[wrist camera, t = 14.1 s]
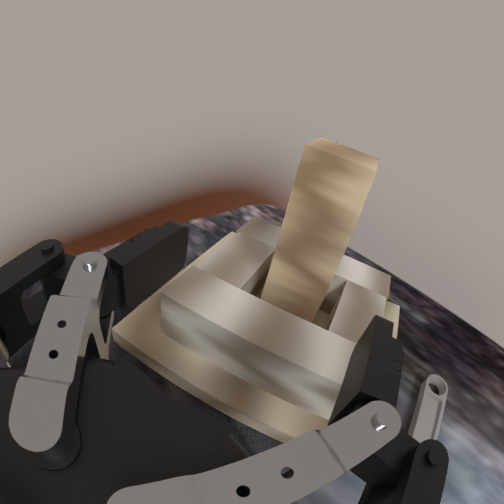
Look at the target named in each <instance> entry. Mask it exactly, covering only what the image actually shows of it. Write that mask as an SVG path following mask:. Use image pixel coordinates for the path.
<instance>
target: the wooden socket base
mask: <svg viewBox="0 0 504 504" xmlns="http://www.w3.org/2000/svg"><path fill="white" fill-rule="evenodd" d="M280 231H281V227H278V226H276V225H274V224H271V223H269V222H266V221H264V220H262V219H259V218H257V217H253V218H252V219H250V220H249V221H248V222H247V223H245V224H244V225H243V226H242V227H240V228H239V229H238V230H237V231H236V233H234V232H232V231H231V232H230V233H229V234H228V235H226V236H225V237H224V238H222V239H221V240H220V241H219V242H217V243H216V244H215V245H214V246H212V247H211V248H210V249H209V250H207V251H206V252H205V253H203V254H202V255H201V256H200V257H198V258H197V259H196V260H195V261H193V262H192V263H191V264H190V265H188V266H187V267H186V268H185V269H183V270H182V271H181V272H180V273H178V274H177V275H176V276H175V277H174V278H172V279H171V280H170V281H169V282H167V283H166V284H165V285H164V286H162V287H161V288H160V289H159V290H158V291H156V292H155V293H154V294H153V295H151V296H150V297H149V298H148V299H147V300H145V301H144V302H143V303H142V304H140V305H139V306H138V307H137V308H136V309H134V310H133V311H132V312H131V313H130V314H128V315H127V316H126V317H125V318H124V319H122V320H121V321H120V322H119V323H118V324H116V325H115V326H114V327H113V328H112V335H113V340H114V342H115V343H117V344H118V345H119V346H120V347H122V348H123V349H124V350H126V351H127V352H129V353H130V354H131V355H133V356H134V357H135V358H137V359H138V360H140V361H141V362H142V363H144V364H145V365H147V366H148V367H150V368H151V369H152V370H154V371H155V372H157V373H158V374H160V375H161V376H163V377H164V378H166V379H167V380H169V381H171V382H172V383H174V384H175V385H177V386H178V387H180V388H182V389H183V390H185V391H186V392H188V393H190V394H191V395H193V396H195V397H196V398H198V399H200V400H201V401H203V402H205V403H206V404H208V405H210V406H212V407H213V408H215V409H217V410H219V411H221V412H222V413H224V414H226V415H228V416H230V417H232V418H233V419H235V420H237V421H239V422H241V423H243V424H245V425H247V426H249V427H251V428H253V429H255V430H257V431H259V432H261V433H263V434H265V435H267V436H270V437H272V438H274V439H276V440H278V441H280V442H283V443H285V442H288V441H290V440H292V439H294V438H297V437H299V436H301V435H303V434H305V433H307V432H310V431H312V430H315V429H317V430H322V429H324V428H326V427H328V426H329V425H327V424H328V422H329V419H330V417H331V414H332V411H333V408H334V406H335V403H336V400H337V397H338V394H339V391H340V388H341V385H342V382H343V379H344V376H345V373H346V370H347V367H348V364H349V360H350V357H351V354H352V352H353V349H354V347H355V345H356V344H357V342H358V340H359V339H360V337H361V336H362V334H363V333H364V331H365V330H366V328H367V327H368V325H369V323H370V322H371V320H372V319H373V317H374V316H375V315H378V316H381V317H383V318H385V319H387V320H389V321H392V322H393V323H394V327H393V335H392V337H393V338H396V339H397V331H398V321H399V310H400V306H398V305H396V304H393V303H391V302H389V301H387V300H388V298H389V290H390V280H391V276H390V275H388V274H386V273H383V272H381V271H379V270H377V269H375V268H372V267H370V266H368V265H366V264H364V263H361V262H359V261H357V260H355V259H352V258H350V257H348V256H346V255H343V257H342V260H341V262H340V264H339V266H338V269H337V271H336V273H335V275H334V278H333V280H332V282H331V284H330V286H329V289H328V291H327V293H326V295H325V297H324V299H323V301H322V304H321V306H320V308H319V310H318V312H317V314H316V316H315V318H314V320H313V322H312V323H310V322H308V321H306V320H304V319H302V318H300V317H297V316H295V315H293V314H291V313H289V312H287V311H285V310H283V309H280V308H278V307H276V306H274V305H272V304H270V303H268V302H266V301H264V300H262V299H261V295H262V292H263V289H264V285H265V282H266V279H267V275H268V272H269V269H270V265H271V262H272V258H273V255H274V252H275V248H276V245H277V241H278V238H279V235H280Z"/></svg>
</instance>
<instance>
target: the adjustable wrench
mask: <svg viewBox="0 0 504 504" xmlns="http://www.w3.org/2000/svg"><path fill="white" fill-rule="evenodd" d="M429 384H433V385H434V386H435V387H436V388H437V390H438V392H439V395H437V394H435V393H434V392H433V391H432V390H431V389H430V387H429ZM447 393H448V387H447V384H446V382H445V380H444V379H443V378H442V377H440V376H439V375H436V374H432V375H430V376H429V377H428V378H427V379H426V380H425V381H424V382H423V383H422V384H421V387H420V391H419V395H418V399H417V402H416V406H415V410H414V413H413V417H412V420H411V424H410V427H409V430H408V433H407V434H409V435H410V436H411V437H413V438H414V439H415V440H417V441H418V442H419V443H421V442H423V441H424V440H427V439H434V440H437V438H438V434H439V430H440V426H441V422H442V417H443V413H444V408H445V403H446V398H447Z"/></svg>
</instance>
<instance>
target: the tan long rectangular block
mask: <svg viewBox="0 0 504 504" xmlns="http://www.w3.org/2000/svg"><path fill="white" fill-rule="evenodd" d="M378 160H379V159H377V158H374V157H372V156H370V155H367V154H365V153H362V152H359V151H357V150H354V149H351V148H348V147H346V146H343V145H341V144H338V143H335V142H332V141H329V140H327V139H323V138H319V139H316V140H314V141H312V142H310V143H307V144H305V146H304V149H303V153H302V157H301V160H300V164H299V168H298V171H297V175H296V178H295V182H294V185H293V189H292V193H291V196H290V200H289V203H288V207H287V210H286V214H285V217H284V221H283V224H282V228H281V231H280V235H279V238H278V241H277V245H276V248H275V252H274V255H273V258H272V262H271V265H270V269H269V272H268V275H267V279H266V282H265V285H264V289H263V292H262V295H261V299H262V300H264V301H266V302H268V303H270V304H272V305H274V306H276V307H278V308H280V309H283V310H285V311H287V312H289V313H291V314H293V315H295V316H297V317H300V318H302V319H304V320H306V321H308V322H310V323H312V322H313V320H314V318H315V316H316V314H317V312H318V310H319V308H320V306H321V304H322V301H323V299H324V297H325V295H326V293H327V291H328V289H329V286H330V284H331V282H332V280H333V278H334V275H335V273H336V271H337V269H338V266H339V264H340V262H341V260H342V257H343V255H344V253H345V250H346V248H347V246H348V243H349V241H350V238H351V236H352V234H353V231H354V229H355V226H356V224H357V221H358V219H359V216H360V214H361V211H362V209H363V206H364V204H365V201H366V198H367V196H368V193H369V190H370V188H371V185H372V182H373V180H374V177H375V174H376V171H377V165H378Z"/></svg>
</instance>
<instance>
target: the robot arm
mask: <svg viewBox="0 0 504 504" xmlns="http://www.w3.org/2000/svg"><path fill="white" fill-rule="evenodd" d="M188 234H189V231H188V228H187V227H185V226H183V225H181V224H179V223H177V222H174V221H169V222H167V223H165V224H164V225H162V226H160V227H154V228H150V229H146V230H144V231H142V232H140V233H139V234H137V235H136V236H134V237H132V238H130V239H129V240H127V241H125V242H123V243H122V244H120V245H118V246H117V247H115V248H113V249H112V250H110V251H108V252H107V253H105V254H101V253H97V252H87V253H83V254H81V255H79V256H77V257H74V256H71V255H68V254H65V253H64V249H63V244H62V243H61V242H60V241H58V240H54V239H50V240H45V241H42V242H40V243H38V244H36V245H35V246H33V247H32V248H30V249H29V250H27V251H25V252H24V253H22V254H21V255H19V256H17V257H16V258H14V259H13V260H11V261H10V262H8V263H7V264H5V265H4V266H2V267H1V268H0V504H291V503H293V502H295V501H297V500H299V499H301V498H303V497H304V496H306V495H308V494H310V493H312V492H314V491H316V490H317V489H319V488H321V487H323V486H325V485H326V484H328V483H330V482H331V481H333V480H335V479H336V478H338V477H340V476H341V475H343V474H344V473H346V472H347V471H348V470H350V471H351V472H353V473H354V474H355V475H357V476H358V477H359V478H361V479H362V480H363V481H365V482H366V486H365V488H364V491H363V493H362V496H361V498H360V500H359V503H358V504H440V501H441V497H442V493H443V488H444V484H445V479H446V474H447V469H448V462H449V457H448V453H447V450H446V448H445V447H444V445H443V444H442V443H440V442H439V441H437V440H434V439H427V440H424V441H423V442H421V443H419V442H418V441H417V440H415V439H414V438H413V437H411V436H410V435H409V434H407V433H406V432H405V431H404V430H403V429H402V428H401V418H400V415H399V413H398V412H397V410H396V404H397V398H398V392H399V385H400V378H401V375H400V374H401V371H402V362H403V353H404V352H403V349H402V346H401V342H400V340H398V339H396V338H393V337H392V335H393V327H394V323H393V322H392V321H389V320H387V319H385V318H383V317H381V316H378V315H375V316H374V317H373V319H372V320H371V322H370V323H369V325H368V327H367V328H366V330H365V331H364V333H363V334H362V336H361V337H360V339H359V340H358V342H357V344H356V345H355V347H354V349H353V352H352V354H351V357H350V360H349V364H348V367H347V370H346V373H345V376H344V379H343V382H342V385H341V388H340V391H339V394H338V397H337V400H336V403H335V406H334V408H333V411H332V414H331V417H330V419H329V422H328V424H327V425H329V426H328V427H326V428H324V429H322V430H317V429H315V430H312V431H310V432H307V433H305V434H303V435H301V436H299V437H297V438H294V439H292V440H290V441H288V442H285V443H283V444H281V445H278V446H276V447H274V448H271V449H269V450H266V451H264V452H261V453H259V454H256V455H254V456H251V457H248V456H247V454H246V452H245V451H244V449H243V448H242V446H241V445H240V444H239V443H238V442H237V441H236V440H235V439H234V438H233V437H232V436H231V432H232V430H233V428H234V427H232V426H230V425H228V424H226V423H225V422H223V421H221V420H219V419H217V418H216V417H214V416H212V415H210V414H209V413H207V412H205V411H203V410H200V409H197V408H194V407H191V406H188V405H185V404H183V403H180V402H177V401H174V400H171V399H169V398H168V397H167V396H166V395H165V394H164V393H163V392H162V391H161V390H160V389H159V388H158V387H157V385H156V384H155V383H154V382H153V381H152V380H151V379H150V377H149V376H148V375H147V374H146V373H145V372H143V371H142V370H140V369H139V368H138V367H136V366H135V365H134V364H132V363H131V362H130V361H128V360H127V359H126V358H124V357H123V356H122V357H121V358H120V359H119V360H118V361H117V362H114V361H111V360H109V344H110V337H111V331H112V325H113V319H114V310H115V309H116V308H117V307H119V308H120V309H122V310H123V311H125V312H126V313H128V312H129V311H131V310H132V309H133V308H134V307H135V306H137V305H138V304H139V303H140V302H142V301H143V300H144V299H145V298H146V297H148V296H149V295H150V294H151V293H153V292H154V291H155V290H156V289H158V288H159V287H160V286H161V285H163V284H164V283H165V282H166V281H168V280H169V279H170V278H171V277H173V276H174V275H175V274H176V273H178V272H179V271H180V270H181V269H182V267H183V266H184V264H185V261H186V254H187V244H188ZM39 280H40V282H41V285H42V290H41V291H39V292H38V293H37V294H35V295H34V296H33V297H31V298H30V299H29V300H27V301H26V302H25V303H24V304H21V301H20V298H21V295H22V293H23V292H24V291H25V290H26V289H28V288H29V287H30V286H32V285H33V284H35V283H36V282H37V281H39ZM35 335H36V337H35V340H34V344H33V347H32V350H31V353H30V357H29V360H28V364H27V365H26V366H16V367H8V365H7V364H6V363H7V361H8V359H9V358H10V357H11V356H12V355H13V354H14V353H15V352H16V351H18V350H19V349H20V348H21V347H22V346H23V345H24V344H25V343H27V342H28V341H29V340H30V339H31V338H32V337H34V336H35Z"/></svg>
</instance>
